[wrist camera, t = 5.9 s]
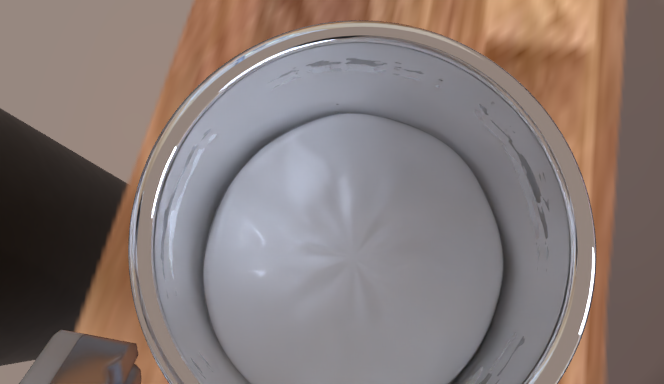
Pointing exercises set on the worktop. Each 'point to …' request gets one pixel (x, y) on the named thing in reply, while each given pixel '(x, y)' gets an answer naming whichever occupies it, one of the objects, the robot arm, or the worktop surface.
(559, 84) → the worktop surface
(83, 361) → the robot arm
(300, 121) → the metal tumbler
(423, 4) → the worktop surface
